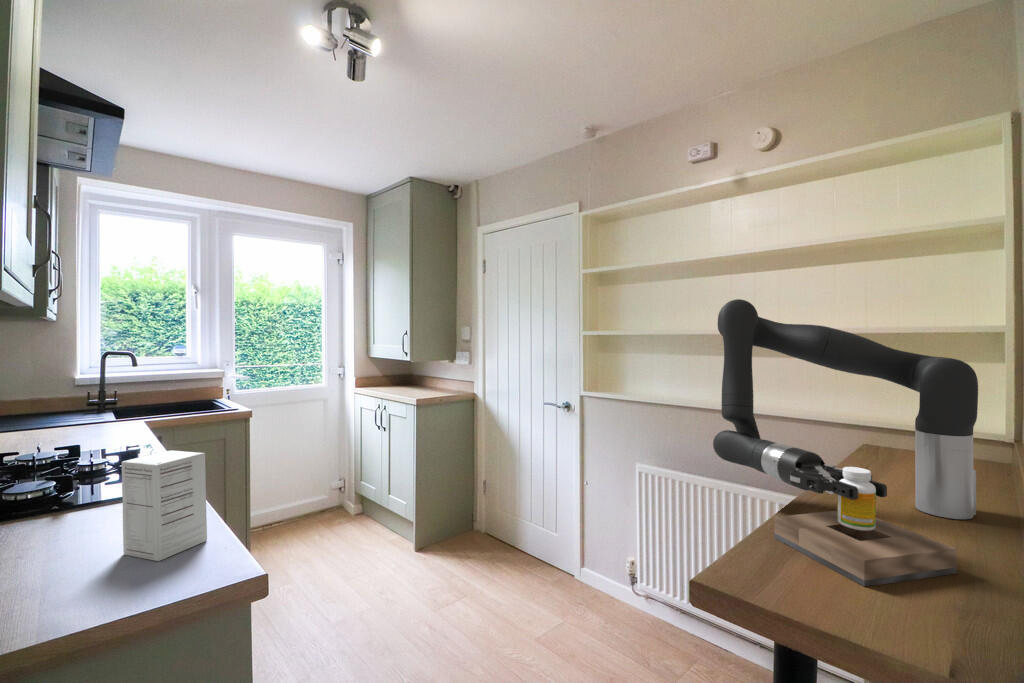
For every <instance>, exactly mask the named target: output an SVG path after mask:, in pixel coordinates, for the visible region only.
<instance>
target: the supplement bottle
mask: <svg viewBox="0 0 1024 683" xmlns="http://www.w3.org/2000/svg"><path fill="white" fill-rule="evenodd" d="M842 469H843V477H844V479H841V480H840V481H841V482H844V483H847V484H849V485H852V486H855V487H857V489H858V499H857V500H851V499H848V498H846V497H843V496H840V495H838V494H837V511H838V522H839V523H840V524H842V525H844V526H846V527H848V528H852V529H855V530H863V531H870V530H874V529H875V527H876V518H877V517H876V516H877V514H876V513H877V506H876V505H877V496H876V488H875V486H874V485H873V484H872V483H870V482H869V481H870V480H871V475H872V471H871V470H869V469H866V468H864V467H863V468H862V467H857V466H849V467H848V466H843V468H842Z"/></svg>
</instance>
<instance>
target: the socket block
mask: <svg viewBox="0 0 1024 683" xmlns="http://www.w3.org/2000/svg"><path fill="white" fill-rule="evenodd" d="M773 524H774V530H773V531H774V537H773V538H774V539H775V540H778V541H779V542H781V543H782V544H784V543H785V545H786V544H787V545H786V546H788V545H789V546H788V547H790V548H792V549H794V550H795V551H796V552H799V553H801V554H803V555H805V556H807V557H809V559H810V558H811V559H813V560H814V561H816V562H818V563H820V564H822V565H824V566H825V567H827V568H828V569H831V570H832V571H834V572H837V573H838V574H840V575H842V576H844V578H847V579H849V580H851V581H853V582H854V581H855V583H856V582H857V583H856V584H858V583H859V585H860V584H861V585H860V586H862V585H863V586H862V587H864V586H867V587H871V586H870V585H874V586H879V585H885V584H894V583H901V582H909V581H915V580H920V579H927V578H934V577H942V576H949V575H955V574H957V570H958V568H957V566H958V565H957V562H958V561H957V560H958V555H957V552H958V551H957V549H958V548H956V547H954V546H951V545H948V544H946V543H944V542H941V541H938V540H935V539H933V538H930V537H928V536H925V535H922V534H920V533H917V532H915V531H912V530H909V529H907V528H903V527H901V526H900V525H896V524H893V523H891V522H888V521H885V520H883V519H880V518H878V517H876V527H875V529H874V530H870V531H863V530H855V529H852V528H848V527H846V526H844V525H842V524H840V523H839V522H838V510H830V511H820V512H819V511H818V512H809V513H800V514H799V513H798V514H790V515H780V516H779V515H778V516H774V523H773Z"/></svg>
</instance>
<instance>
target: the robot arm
mask: <svg viewBox="0 0 1024 683" xmlns="http://www.w3.org/2000/svg"><path fill="white" fill-rule="evenodd" d="M758 313H759V312H758V311H757V309H756V307H755V306H754V305H753V304H752V303H751V302H750V301H748V300H745V299H740V298H738V299H732V300H730V301H728V302H726V303H725V304H723V306H722V307H721V309H719V313H718V314H717V330H718V332H719V334H720V335H721V336H722V340H723V341H722V342H723V368H722V370H723V371H722V383H721V416H722V418H723V419H724V420H725V421H727V422H730V423H731V424H733V426H734V428H735V430H736V431H735V430H729V429H728V430H727V429H726V430H722V431H720V432H718V433H717V434H716V435H715V436H714V438H713V441H712V442H713V443H712V448H713V450H714V452H715V454H716V455H717V456H718V457H719V458H721V459H722V460H723V461H727V462H729V463H732V464H737V465H741V466H743V467H748V468H751V469H754V470H756V471H759V472H761V473H764V474H766V475H767V476H771V477H772V478H774V479H776V480H777V481H780V482H783V483H785V484H788V485H790V486H793V487H795V488H798V489H800V490H803V491H810V492H814V493H817V494H819V495H820V494H824V492H826V493H828V494H829V495H834V494H835V495H837V496H838V495H840V496H843V497H846V498H848V499H851V500H857V499H858V489H857V487H855V486H852V485H849V484H847V483H844V482H841V481H840V480H841V479H844V477H843V468H841V467H836V466H835V465H832V464H826V463H825V462H824V459H823V458H822V457H821V456H820V455H819V454H818V453H816V452H812V451H809V450H806V449H803V448H799V447H795V446H792V445H789V444H784V443H777V442H774V441H771V440H767V439H763V438H761V436H760V432H759V429H758V425H757V422H756V421H757V420H756V418H755V416H754V377H753V348H754V347H758V348H763V349H767V350H771V351H774V352H778V353H781V354H783V355H786V356H789V357H792V358H795V359H799V360H802V361H805V362H808V363H811V364H814V365H818V366H821V367H825V368H828V369H831V370H835V371H840V372H843V373H849V374H853V375H859V376H860V375H861V376H865V377H866V376H867V377H873V378H877V379H881V380H885V381H888V382H891V383H894V384H897V385H899V386H902V387H905V388H907V389H910V390H912V391H915V392H918V393H919V406H918V407H919V409H918V412H917V415H916V417H915V420H914V423H915V424H914V429H915V430H914V431H915V432H914V435H915V436H914V437H915V438H914V441H915V444H914V448H915V449H914V450H915V451H914V452H915V453H914V454H915V455H914V457H915V460H914V461H915V462H914V463H915V464H914V465H915V466H914V467H915V469H914V470H915V471H914V472H915V473H914V474H915V481H914V482H915V490H914V491H915V495H914V496H915V499H914V500H915V509H917V510H918V511H921V512H922V513H926V514H928V515H932V516H934V517H935V516H936V517H941V518H946V519H951V520H952V519H953V520H971V519H973V518H974V516H975V515H977V470H975V469H974V426H975V425H976V423H977V420H978V410H979V409H978V407H979V406H978V404H979V380H978V376H977V374H976V371H975V370H974V369H973V367H972V366H971V365H969V363H966V362H965V361H963V360H960V359H957V358H952V357H943V356H932V355H927V354H922V353H921V354H919V353H914V352H910V351H903V350H899V349H895V348H892V347H889V346H886V345H884V344H881V343H879V342H876V341H874V340H872V339H870V338H866V337H864V336H862V335H859V334H855V333H853V332H852V333H851V332H849V331H845V330H841V329H837V328H833V327H830V326H825V325H820V324H819V325H817V324H805V323H804V324H803V323H801V324H800V323H795V324H793V323H783V322H778V321H773V320H770V319H767V318H763V317H761V316H759V314H758ZM847 467H850V466H848V465H847ZM869 482H870V483H872V484H873V485H874V486H875V488H876V497H879V498H887V496H888V486H887V485H886V484H885V483H882V482H879V481H875V480H873V474H871V480H870V481H869Z"/></svg>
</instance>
